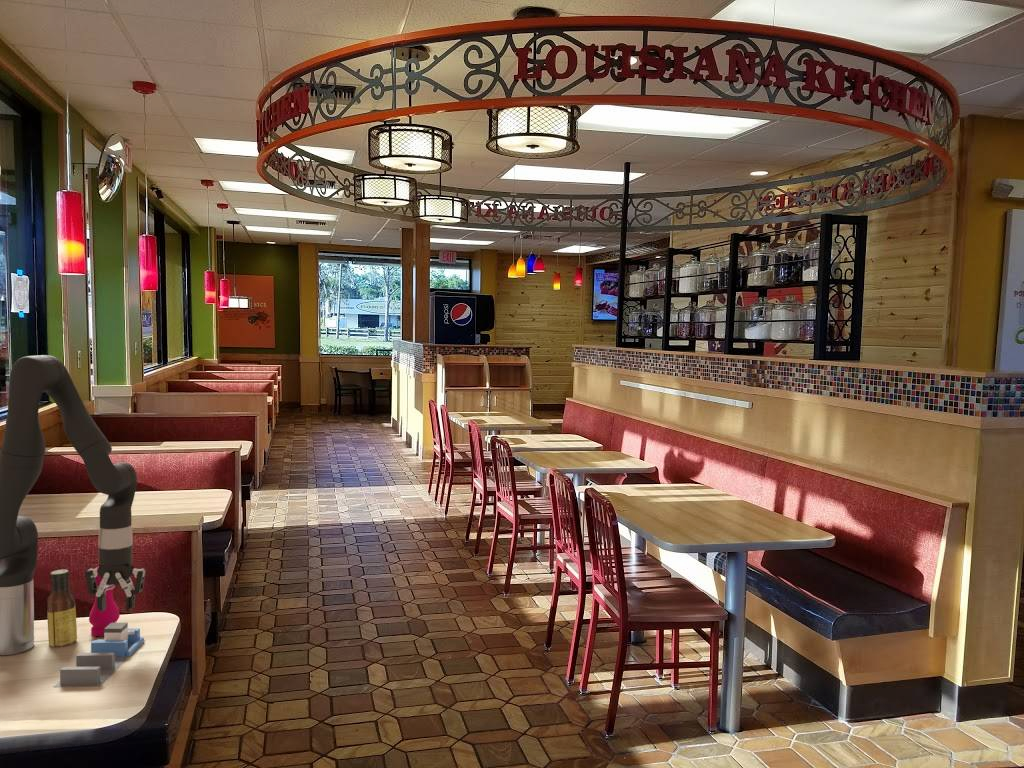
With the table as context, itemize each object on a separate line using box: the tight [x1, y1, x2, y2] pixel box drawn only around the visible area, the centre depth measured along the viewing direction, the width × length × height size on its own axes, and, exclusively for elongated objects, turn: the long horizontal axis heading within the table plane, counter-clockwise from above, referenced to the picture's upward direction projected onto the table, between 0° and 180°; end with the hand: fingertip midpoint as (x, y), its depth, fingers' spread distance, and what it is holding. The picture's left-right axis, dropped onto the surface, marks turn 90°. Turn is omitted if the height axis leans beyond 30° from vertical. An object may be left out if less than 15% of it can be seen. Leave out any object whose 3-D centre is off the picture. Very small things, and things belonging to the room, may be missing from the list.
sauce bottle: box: [46, 568, 78, 648], centre depth 193 cm, size 7×6×20 cm
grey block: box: [103, 622, 129, 640], centre depth 190 cm, size 4×4×6 cm
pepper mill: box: [88, 565, 120, 637], centre depth 204 cm, size 7×7×20 cm
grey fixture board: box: [53, 627, 146, 688], centre depth 183 cm, size 10×26×5 cm, turn 5°
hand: (115, 610), depth 190 cm, fingers open, 5 cm apart
